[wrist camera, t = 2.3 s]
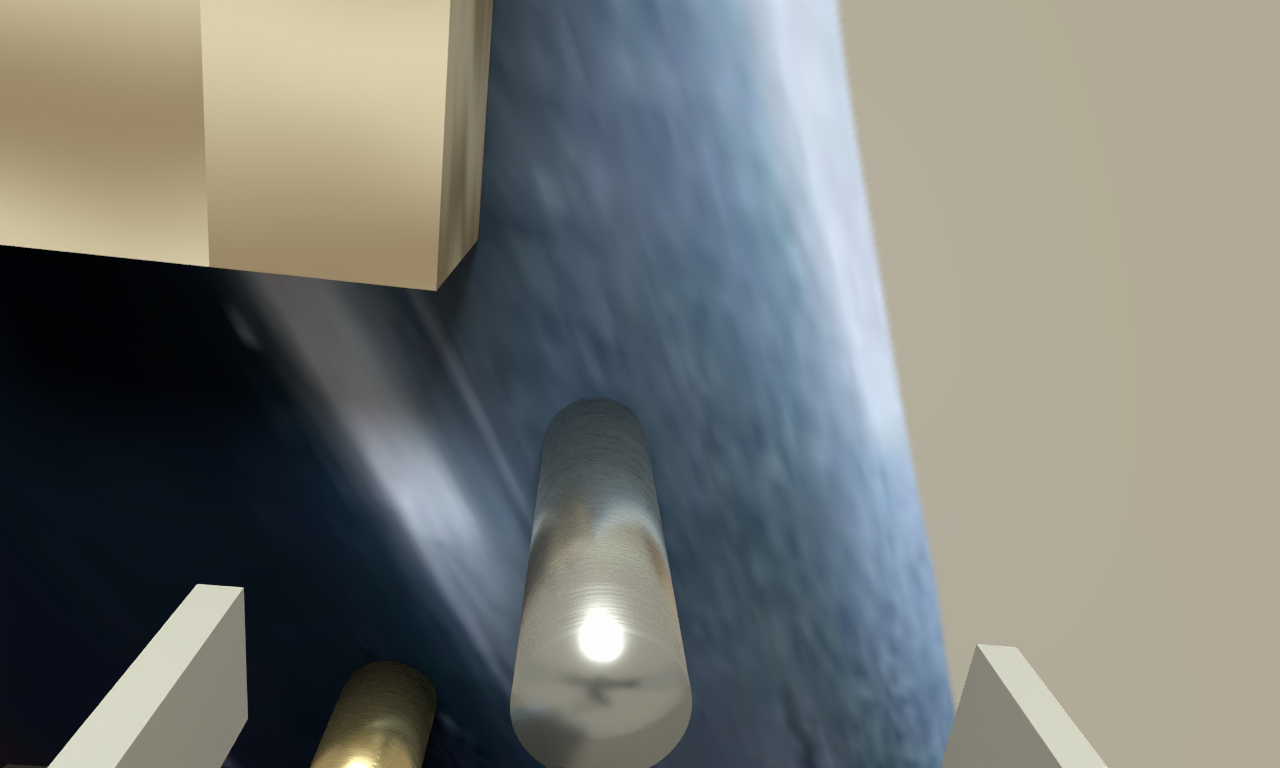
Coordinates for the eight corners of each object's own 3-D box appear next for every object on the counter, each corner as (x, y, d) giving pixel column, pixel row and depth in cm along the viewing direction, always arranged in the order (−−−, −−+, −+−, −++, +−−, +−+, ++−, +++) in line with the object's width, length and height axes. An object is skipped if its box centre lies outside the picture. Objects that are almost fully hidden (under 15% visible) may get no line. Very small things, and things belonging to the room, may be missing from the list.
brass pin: (434, 741, 29) (405, 863, 25) (340, 736, 29) (293, 859, 24) (439, 664, 28) (409, 776, 24) (342, 657, 28) (292, 769, 23)
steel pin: (640, 497, 27) (679, 785, 15) (539, 488, 27) (504, 775, 15) (653, 402, 26) (703, 636, 14) (548, 392, 26) (517, 622, 14)
